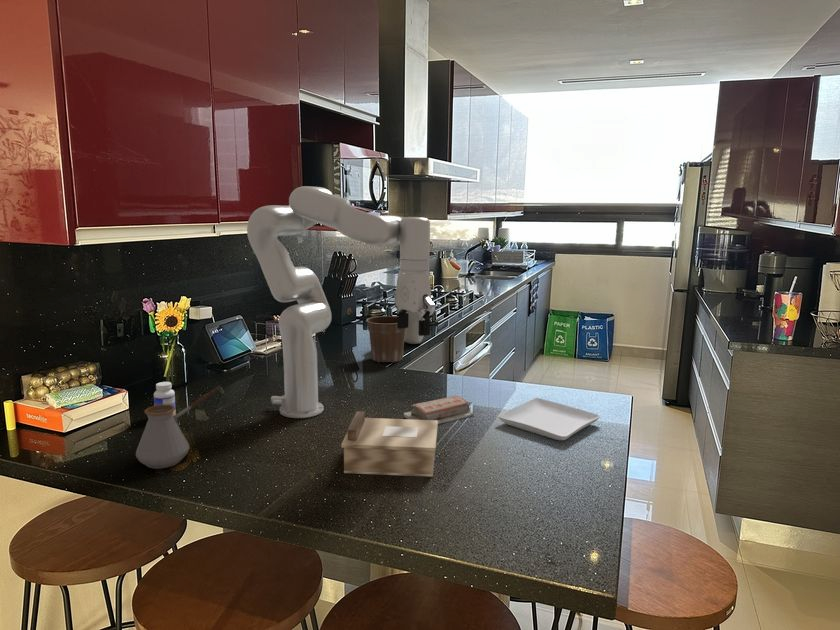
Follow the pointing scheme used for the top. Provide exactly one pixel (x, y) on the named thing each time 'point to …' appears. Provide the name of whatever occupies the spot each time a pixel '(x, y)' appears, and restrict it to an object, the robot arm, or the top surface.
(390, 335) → the plant pot
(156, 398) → the pill bottle
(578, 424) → the salad plate
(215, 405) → the top surface
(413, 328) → the glass bottle
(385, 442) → the lid
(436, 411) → the packaged product
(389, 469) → the mailer box
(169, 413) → the coffee pot
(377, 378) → the top surface
